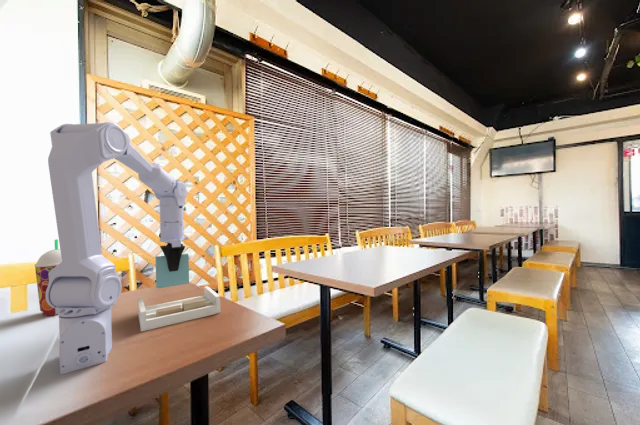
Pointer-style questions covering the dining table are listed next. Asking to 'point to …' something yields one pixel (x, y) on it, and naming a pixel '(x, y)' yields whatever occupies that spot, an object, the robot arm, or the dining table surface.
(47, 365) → the dining table surface
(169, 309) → the offcut
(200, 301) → the offcut
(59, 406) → the dining table surface
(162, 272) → the teal square slab
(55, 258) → the smoothie
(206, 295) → the rack
